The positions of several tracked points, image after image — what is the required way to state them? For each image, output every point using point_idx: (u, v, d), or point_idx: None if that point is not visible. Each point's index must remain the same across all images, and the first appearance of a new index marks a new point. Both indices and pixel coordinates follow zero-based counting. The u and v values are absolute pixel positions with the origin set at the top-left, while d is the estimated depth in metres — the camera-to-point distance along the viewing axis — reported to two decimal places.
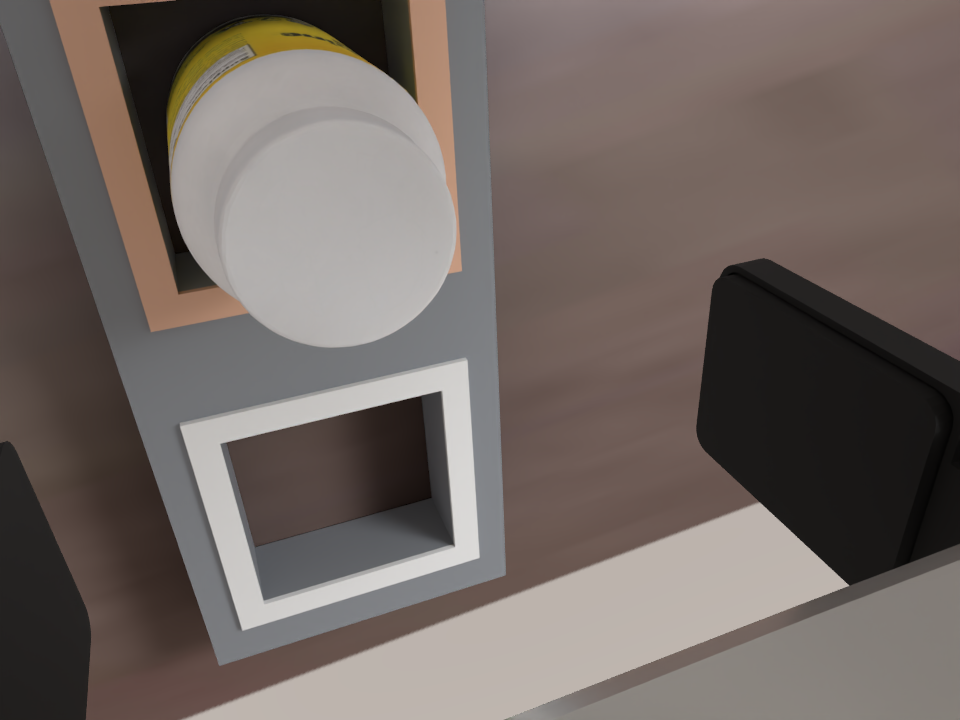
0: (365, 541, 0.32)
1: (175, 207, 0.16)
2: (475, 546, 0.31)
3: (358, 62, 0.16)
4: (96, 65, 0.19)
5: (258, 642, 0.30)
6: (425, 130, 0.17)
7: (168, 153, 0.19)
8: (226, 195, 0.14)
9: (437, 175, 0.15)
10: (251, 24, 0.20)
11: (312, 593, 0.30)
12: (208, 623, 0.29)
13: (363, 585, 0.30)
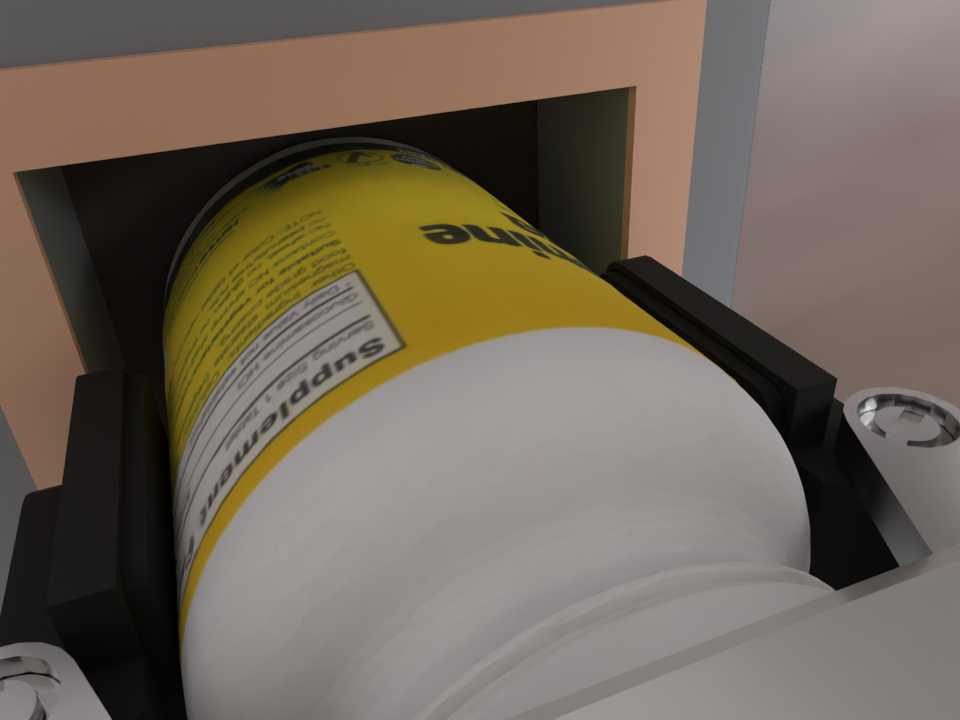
0: None
1: None
2: None
3: (668, 357, 0.06)
4: (12, 288, 0.09)
5: None
6: (800, 492, 0.07)
7: (169, 461, 0.09)
8: None
9: None
10: (333, 179, 0.10)
11: None
12: None
13: None
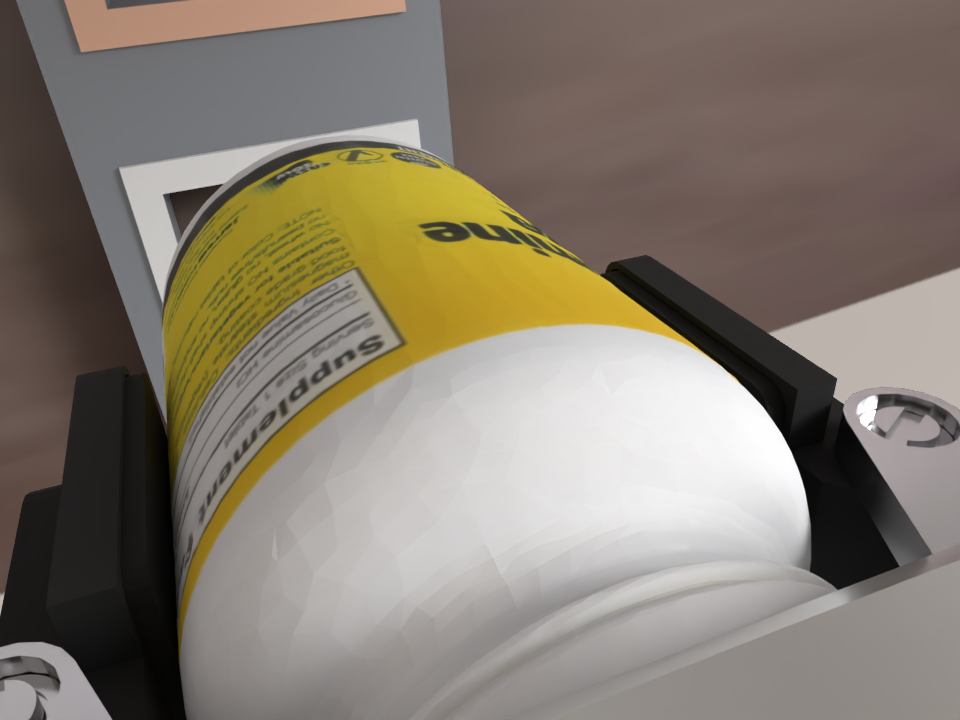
0: None
1: None
2: None
3: (668, 354, 0.06)
4: None
5: None
6: (801, 489, 0.07)
7: (168, 459, 0.09)
8: None
9: None
10: (333, 177, 0.10)
11: None
12: (164, 409, 0.28)
13: None
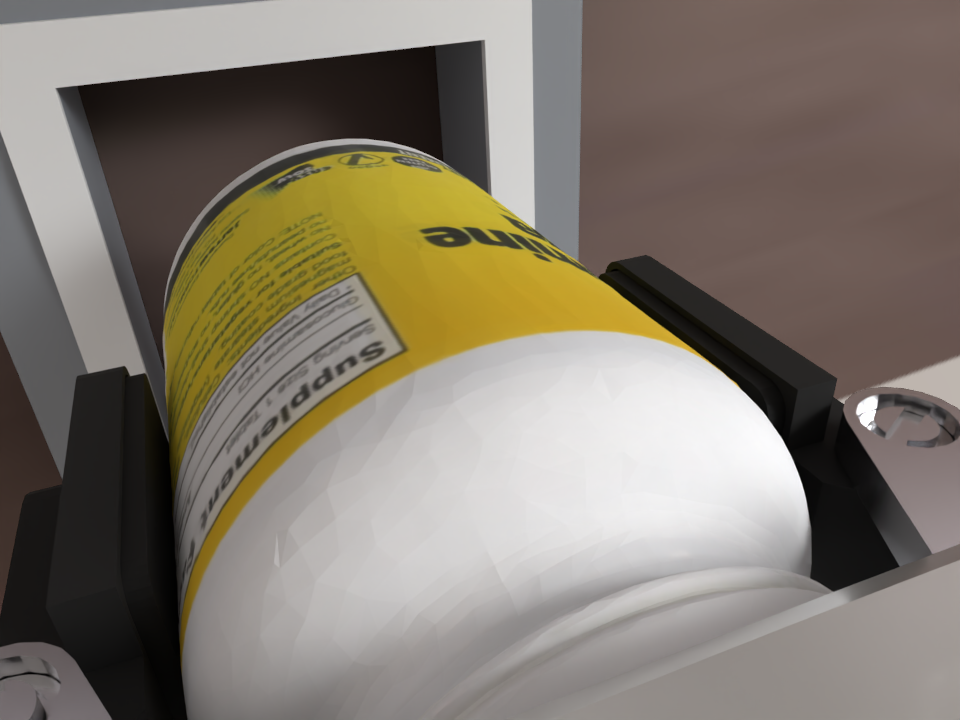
0: None
1: None
2: None
3: (669, 360, 0.06)
4: None
5: None
6: (801, 495, 0.07)
7: None
8: None
9: None
10: (334, 181, 0.10)
11: None
12: None
13: None
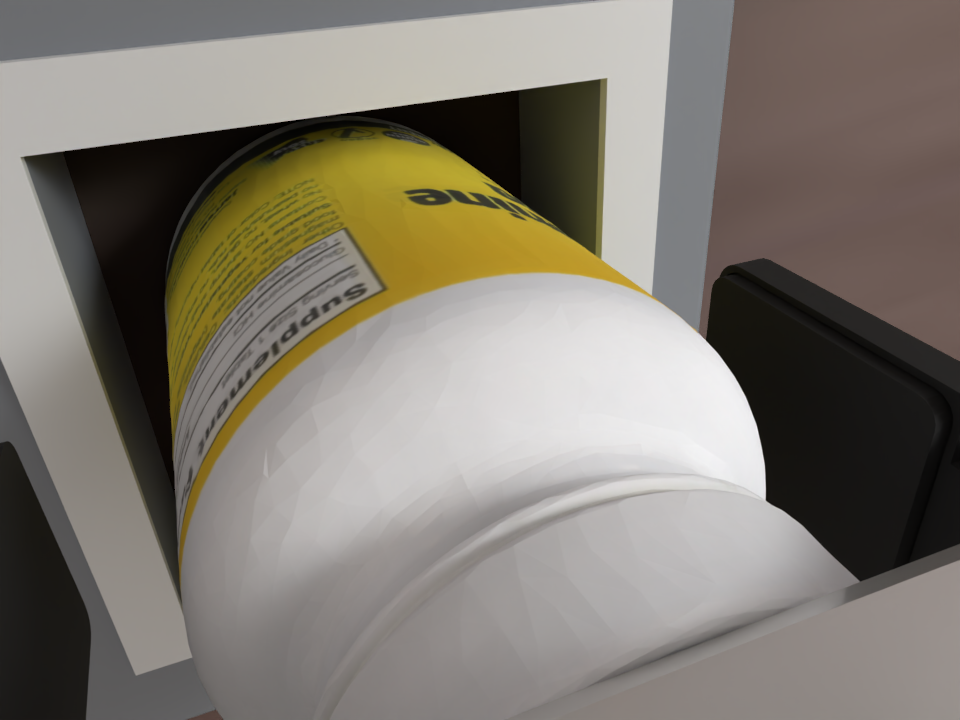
0: None
1: (192, 651, 0.07)
2: None
3: (627, 300, 0.07)
4: None
5: (177, 699, 0.14)
6: (753, 431, 0.08)
7: None
8: None
9: None
10: (326, 151, 0.11)
11: None
12: None
13: None
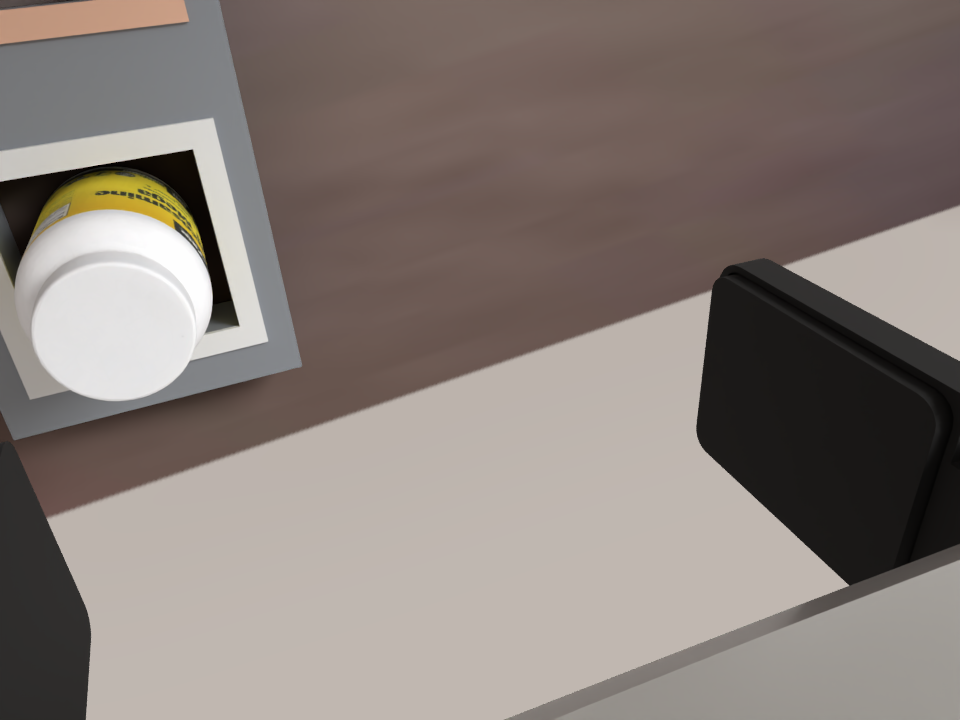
0: None
1: None
2: (261, 327, 0.34)
3: (133, 216, 0.25)
4: None
5: (51, 417, 0.32)
6: (185, 255, 0.26)
7: None
8: (32, 311, 0.23)
9: (173, 289, 0.24)
10: (86, 180, 0.29)
11: None
12: None
13: None
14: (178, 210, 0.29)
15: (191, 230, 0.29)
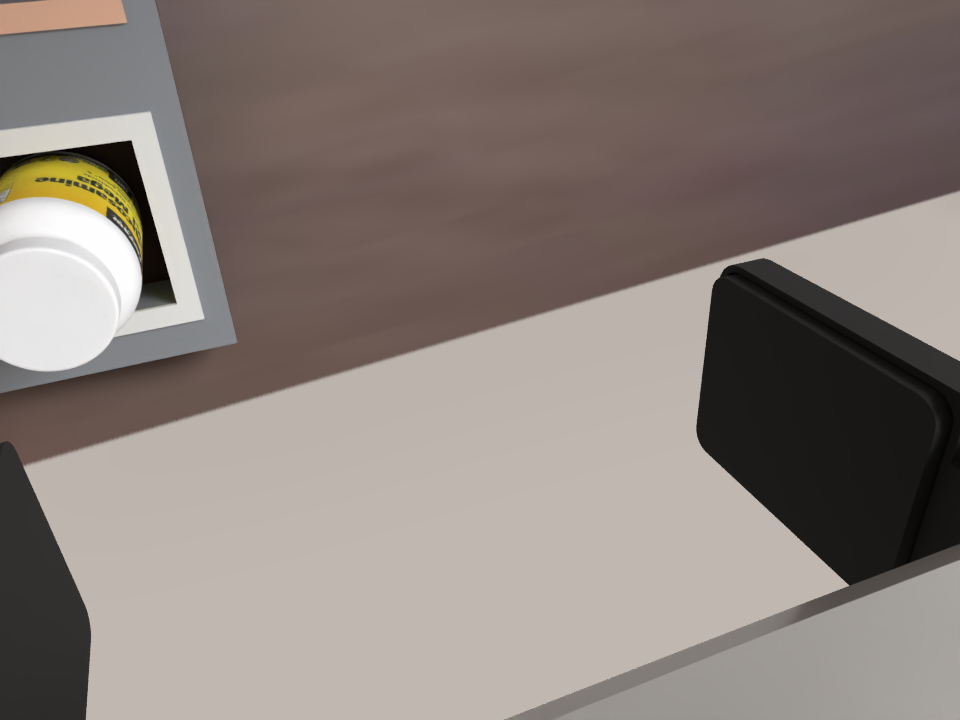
0: None
1: None
2: (197, 305, 0.36)
3: (66, 204, 0.28)
4: None
5: None
6: (113, 240, 0.29)
7: None
8: None
9: (97, 273, 0.26)
10: (30, 165, 0.32)
11: None
12: None
13: None
14: (116, 196, 0.32)
15: (126, 216, 0.31)
